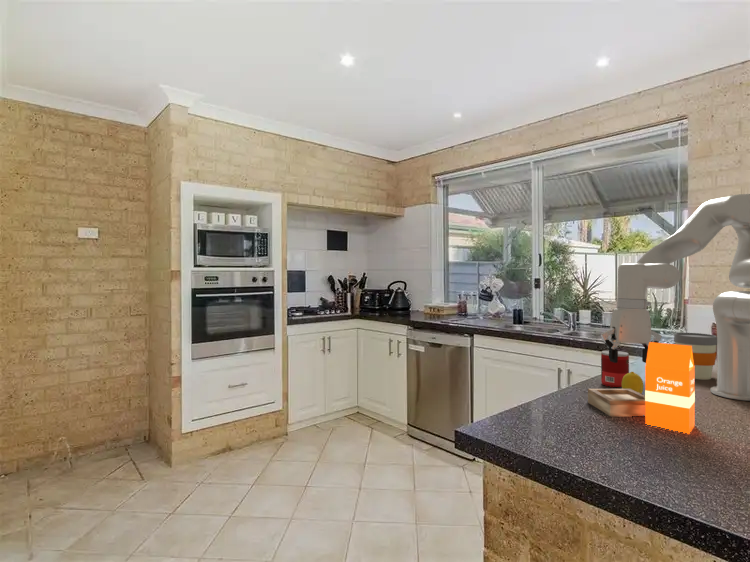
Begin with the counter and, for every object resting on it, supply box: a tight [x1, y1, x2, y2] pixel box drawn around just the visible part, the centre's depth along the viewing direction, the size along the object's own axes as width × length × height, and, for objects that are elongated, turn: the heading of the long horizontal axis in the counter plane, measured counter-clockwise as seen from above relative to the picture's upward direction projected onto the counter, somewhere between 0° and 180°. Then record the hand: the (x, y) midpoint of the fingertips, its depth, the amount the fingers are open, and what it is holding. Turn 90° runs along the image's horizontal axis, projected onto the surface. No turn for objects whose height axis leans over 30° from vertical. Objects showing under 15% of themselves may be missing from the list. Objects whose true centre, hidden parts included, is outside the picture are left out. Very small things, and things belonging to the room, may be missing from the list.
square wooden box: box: [587, 388, 645, 417], centre depth 114 cm, size 12×12×4 cm
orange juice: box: [644, 341, 696, 435], centre depth 101 cm, size 8×9×20 cm
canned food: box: [600, 350, 630, 388], centre depth 138 cm, size 8×8×11 cm
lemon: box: [621, 371, 644, 394], centre depth 124 cm, size 6×6×8 cm
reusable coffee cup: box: [673, 332, 717, 380], centre depth 149 cm, size 12×13×15 cm
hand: (630, 362), depth 123 cm, fingers open, 9 cm apart
